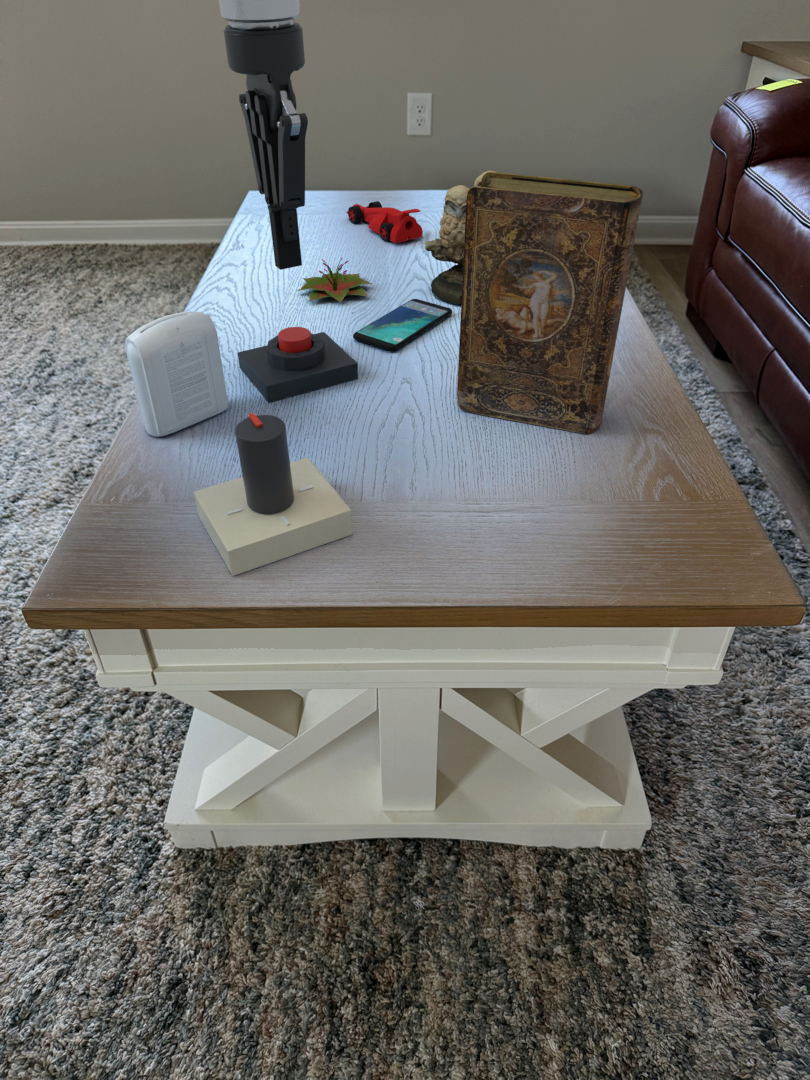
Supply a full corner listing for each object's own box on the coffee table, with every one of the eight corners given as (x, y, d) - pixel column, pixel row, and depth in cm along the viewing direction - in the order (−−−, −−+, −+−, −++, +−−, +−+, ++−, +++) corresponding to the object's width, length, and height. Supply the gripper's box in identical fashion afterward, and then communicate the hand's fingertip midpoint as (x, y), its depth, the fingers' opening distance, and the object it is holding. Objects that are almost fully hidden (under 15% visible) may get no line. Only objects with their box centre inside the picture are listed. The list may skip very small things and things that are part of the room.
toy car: (369, 212, 147) (369, 183, 143) (423, 239, 135) (423, 209, 132) (342, 218, 144) (340, 189, 141) (394, 246, 133) (394, 216, 130)
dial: (301, 505, 73) (292, 429, 68) (257, 520, 72) (244, 443, 66) (283, 481, 76) (273, 406, 71) (240, 494, 75) (227, 419, 69)
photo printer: (215, 396, 95) (197, 297, 87) (235, 409, 92) (219, 309, 84) (138, 428, 89) (112, 326, 81) (158, 443, 87) (133, 339, 79)
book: (604, 412, 92) (646, 186, 75) (596, 436, 88) (638, 204, 71) (469, 388, 96) (481, 170, 80) (456, 410, 92) (465, 186, 76)
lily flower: (299, 311, 113) (296, 280, 110) (292, 279, 122) (289, 249, 119) (381, 303, 115) (380, 273, 112) (368, 273, 124) (367, 243, 121)
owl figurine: (419, 306, 114) (420, 182, 103) (429, 275, 123) (431, 158, 112) (544, 313, 112) (558, 188, 101) (545, 281, 121) (558, 162, 110)
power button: (286, 357, 95) (285, 344, 94) (274, 344, 97) (272, 331, 96) (317, 349, 96) (315, 336, 95) (304, 337, 99) (302, 324, 98)
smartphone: (454, 308, 112) (393, 348, 102) (454, 313, 112) (393, 353, 103) (413, 297, 115) (350, 334, 105) (413, 302, 115) (350, 339, 106)
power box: (268, 402, 94) (264, 372, 91) (239, 368, 100) (235, 339, 98) (358, 378, 98) (357, 349, 95) (325, 346, 105) (322, 318, 102)
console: (232, 576, 70) (227, 550, 68) (198, 516, 77) (192, 490, 75) (352, 534, 75) (351, 508, 73) (310, 480, 81) (307, 455, 79)
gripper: (326, 27, 72) (342, 278, 87) (273, 11, 81) (296, 241, 96) (249, 34, 69) (279, 292, 85) (203, 17, 78) (238, 253, 93)
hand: (288, 265), depth 90 cm, fingers closed
